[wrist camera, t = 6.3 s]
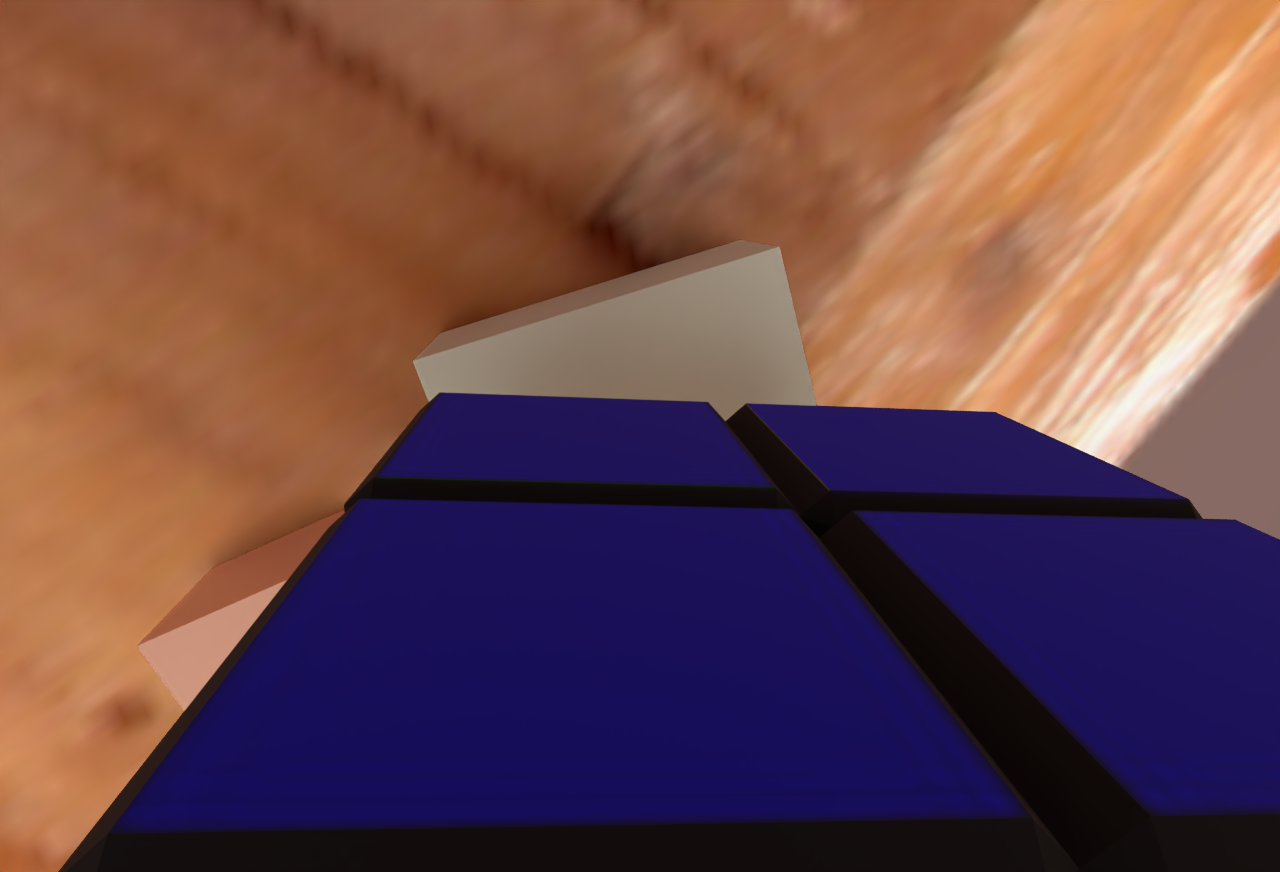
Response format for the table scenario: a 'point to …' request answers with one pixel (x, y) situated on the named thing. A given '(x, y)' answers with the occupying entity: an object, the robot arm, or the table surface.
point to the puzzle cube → (735, 660)
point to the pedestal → (642, 338)
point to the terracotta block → (223, 611)
